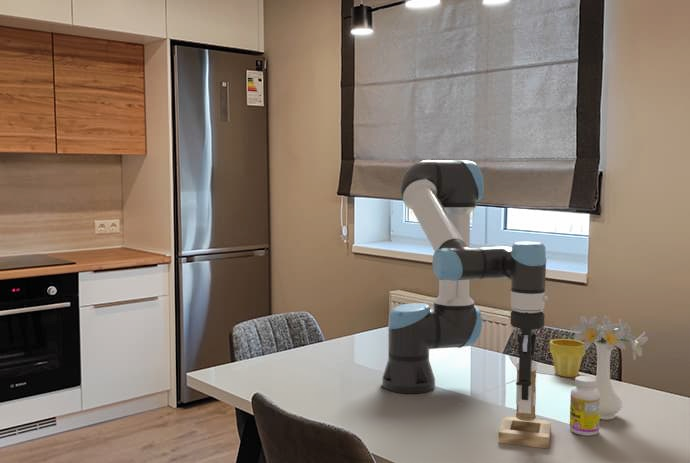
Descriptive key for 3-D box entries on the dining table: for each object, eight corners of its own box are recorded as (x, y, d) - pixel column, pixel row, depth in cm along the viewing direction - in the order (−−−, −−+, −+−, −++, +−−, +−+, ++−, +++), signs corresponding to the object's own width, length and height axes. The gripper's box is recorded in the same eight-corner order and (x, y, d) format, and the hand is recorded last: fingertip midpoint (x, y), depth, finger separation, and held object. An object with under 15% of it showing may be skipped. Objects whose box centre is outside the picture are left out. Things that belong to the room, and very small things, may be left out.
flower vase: (640, 430, 168) (643, 327, 166) (561, 417, 178) (563, 318, 176) (648, 414, 180) (651, 317, 177) (573, 402, 189) (576, 310, 187)
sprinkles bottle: (539, 419, 164) (541, 361, 163) (526, 422, 161) (527, 364, 160) (524, 413, 167) (525, 357, 166) (511, 417, 165) (512, 360, 164)
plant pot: (580, 369, 220) (581, 338, 220) (588, 379, 210) (589, 347, 209) (546, 368, 222) (547, 338, 221) (552, 378, 211) (553, 346, 210)
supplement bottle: (565, 426, 171) (566, 374, 170) (591, 426, 172) (593, 374, 171) (576, 437, 164) (577, 383, 163) (604, 436, 165) (605, 382, 164)
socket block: (498, 442, 161) (498, 431, 161) (503, 426, 172) (503, 416, 171) (548, 448, 158) (548, 437, 157) (550, 431, 168) (551, 421, 168)
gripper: (542, 318, 153) (540, 423, 155) (546, 303, 169) (544, 399, 171) (507, 315, 155) (505, 419, 157) (514, 302, 172) (512, 396, 173)
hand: (525, 408), depth 164 cm, fingers closed on sprinkles bottle, 4 cm apart
